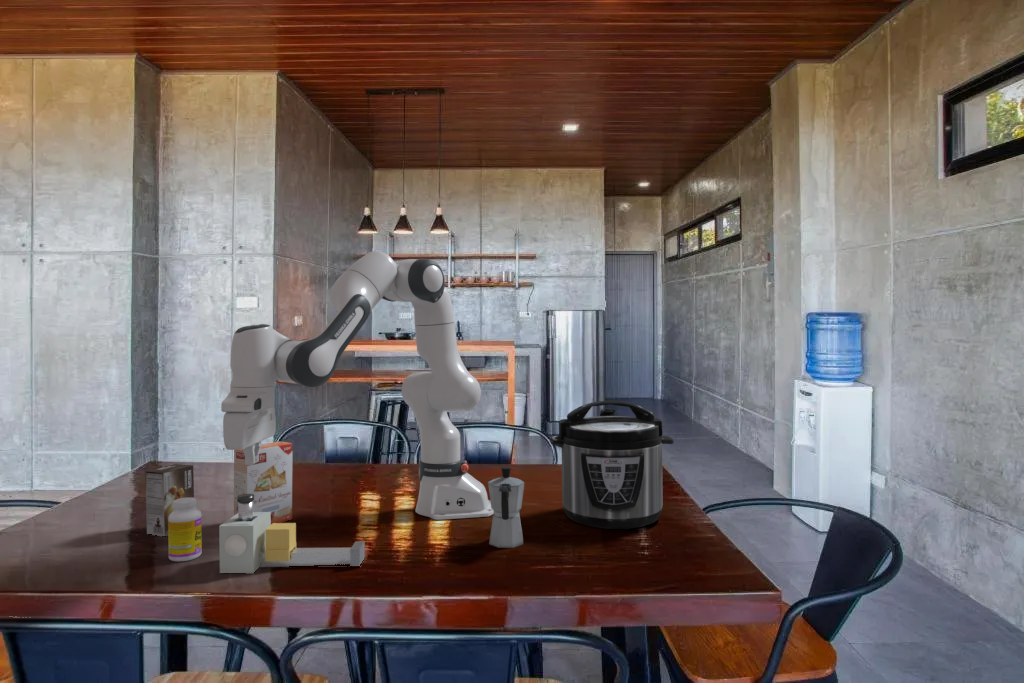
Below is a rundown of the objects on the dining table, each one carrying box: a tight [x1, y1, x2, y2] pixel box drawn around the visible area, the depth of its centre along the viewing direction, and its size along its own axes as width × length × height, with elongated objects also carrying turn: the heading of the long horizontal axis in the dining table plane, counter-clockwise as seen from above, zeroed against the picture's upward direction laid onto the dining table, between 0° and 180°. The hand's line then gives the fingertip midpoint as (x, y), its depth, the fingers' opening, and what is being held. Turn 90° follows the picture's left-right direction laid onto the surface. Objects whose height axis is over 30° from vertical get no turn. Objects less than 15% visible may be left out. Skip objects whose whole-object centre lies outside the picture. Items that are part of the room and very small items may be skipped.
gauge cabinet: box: [218, 512, 271, 574], centre depth 135 cm, size 7×11×10 cm, turn 1°
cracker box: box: [233, 441, 294, 524], centre depth 163 cm, size 14×6×21 cm, turn 148°
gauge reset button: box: [237, 494, 254, 521], centre depth 135 cm, size 3×3×7 cm
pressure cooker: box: [549, 400, 674, 530], centre depth 169 cm, size 30×28×32 cm
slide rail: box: [260, 540, 366, 568], centre depth 136 cm, size 22×5×4 cm, turn 91°
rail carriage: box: [265, 522, 297, 561], centre depth 135 cm, size 5×5×7 cm
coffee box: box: [145, 463, 195, 537], centre depth 158 cm, size 9×6×16 cm
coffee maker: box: [487, 466, 525, 549], centre depth 148 cm, size 15×9×18 cm, turn 178°
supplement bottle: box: [167, 497, 203, 562], centre depth 140 cm, size 7×7×13 cm
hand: (251, 463), depth 134 cm, fingers closed
